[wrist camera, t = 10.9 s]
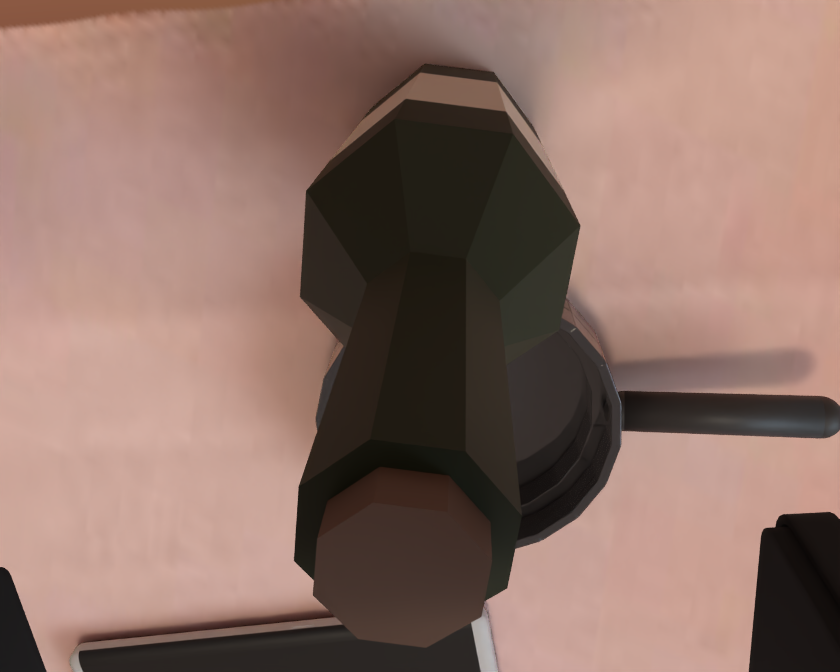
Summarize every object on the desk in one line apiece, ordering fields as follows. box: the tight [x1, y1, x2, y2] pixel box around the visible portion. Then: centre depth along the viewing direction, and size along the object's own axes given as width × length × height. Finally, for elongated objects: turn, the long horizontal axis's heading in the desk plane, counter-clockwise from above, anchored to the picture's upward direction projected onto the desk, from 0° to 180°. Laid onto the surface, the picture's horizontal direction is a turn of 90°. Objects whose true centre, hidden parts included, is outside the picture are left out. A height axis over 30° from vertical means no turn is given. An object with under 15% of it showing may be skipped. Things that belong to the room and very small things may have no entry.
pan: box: [316, 299, 622, 549], centre depth 41 cm, size 15×15×4 cm
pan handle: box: [604, 391, 840, 438], centre depth 39 cm, size 11×2×4 cm, turn 95°
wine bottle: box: [294, 64, 580, 648], centre depth 24 cm, size 8×8×30 cm
